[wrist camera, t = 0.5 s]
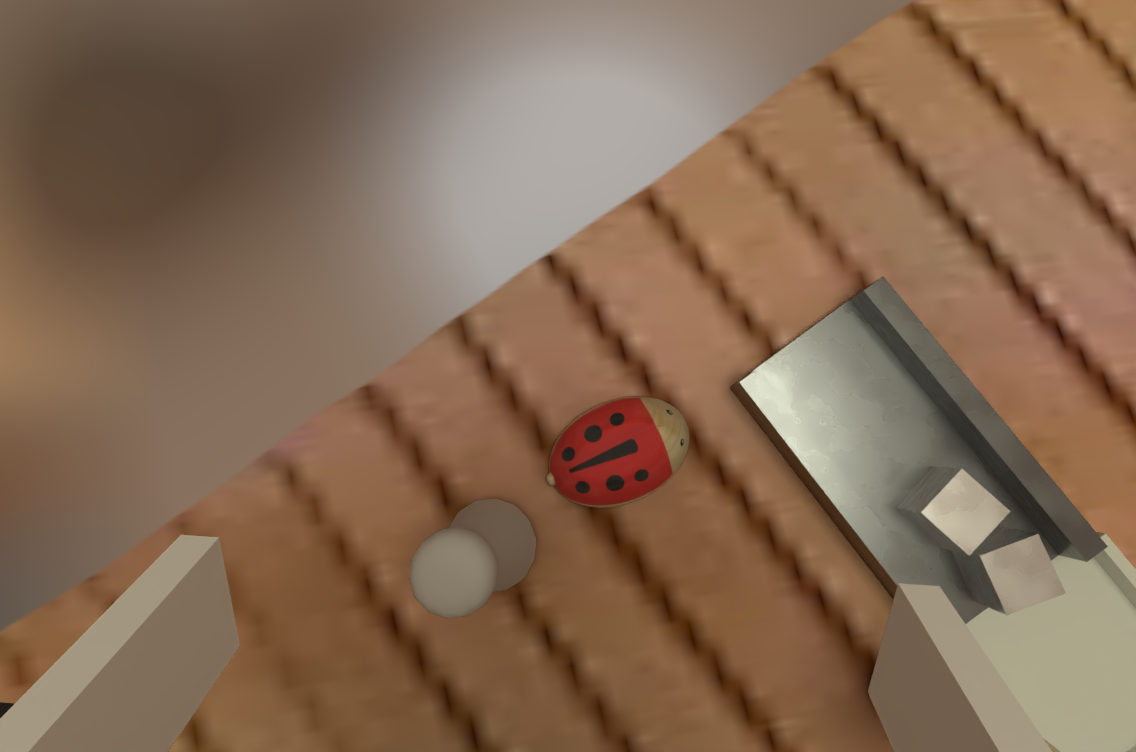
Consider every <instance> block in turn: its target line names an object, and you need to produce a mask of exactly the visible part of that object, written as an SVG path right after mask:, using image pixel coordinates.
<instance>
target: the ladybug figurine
mask: <svg viewBox="0 0 1136 752" xmlns="http://www.w3.org/2000/svg"><path fill="white" fill-rule="evenodd" d="M688 446H689V429H688V426H687V423H686V421H685V419H684V417H683V416H682V415H681V413H680V412H679V411H678V410H677V409H676V408H674V407H673V406H672V405H670V404H668V403H666V402H664V401H662V400H659V399H656V398H650V397H642V396H632V397H624V398H619V399H616V400H612V401H609V402H606V403H603V404H601V405H598V406H596V407H594V408H592V409H590V410H588V411H586V412H585V413H583V414H581V415H580V416H579V417H577V418H576V419H575V420H573V421H572V422H571V423H570V424H569V425H568V426H567V427H566V428H565V429H564V431H563V432H562V433H561V434H560V436H559V437H558V439H557V441H556V443H555V445H554V447H553V449H552V452H551V455H550V460H549V471H550V473H549V474H548V475H547V477H546V479H547V482H548V484H549V485H551V486H555V487H556V488H557V490H558V491H559V492H560V493H561V494H562V495H563V496H564V497H565V498H567V499H569V500H570V501H572V502H575V503H577V504H580V505H584V506H588V507H598V508H605V507H614V506H620V505H624V504H627V503H631V502H634V501H636V500H639V499H641V498H643V497H646V496H647V495H649V494H651V493H652V492H654V491H656V490H657V489H658V488H660V487H661V486H663V485H664V484H665V483H666V482H667V481H668V480H669V479H670V478H671V477H672V476H673V475H674V474H675V472H676V471H677V470H678V468H679V467H680V466H681V464H682V462H683V460H684V458H685V456H686V453H687V450H688Z"/></svg>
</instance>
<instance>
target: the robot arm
mask: <svg viewBox="0 0 1136 752" xmlns="http://www.w3.org/2000/svg"><path fill="white" fill-rule="evenodd" d="M239 646H240V644H239V639H238V634H237V628H236V623H235V618H234V613H233V608H232V602H231V597H230V592H229V587H228V582H227V576H226V571H225V566H224V561H223V556H222V551H221V545H220V540H219V537H204V536H189V535H180V536H179V537H178V538H177V539H176V540H175V541H174V542H173V543H172V545H171V546H170V547H169V548H168V549H167V550H166V551H165V552H164V553H163V554H162V555H161V556H160V557H159V558H158V559H157V560H156V561H155V562H154V563H153V564H152V565H151V566H150V567H149V568H148V569H147V570H146V571H145V572H144V573H143V574H142V575H141V576H140V577H139V578H138V579H137V580H136V581H135V582H134V583H133V584H132V585H131V586H130V587H129V588H128V589H127V590H126V591H125V592H124V593H123V594H122V595H121V596H120V597H119V598H118V599H117V600H116V601H115V602H114V603H113V604H112V606H111V607H110V608H109V609H108V610H107V611H106V612H105V613H104V614H103V615H102V616H101V617H100V618H99V619H98V620H97V621H96V622H95V623H94V624H93V625H92V626H91V627H90V628H89V629H88V630H87V631H86V632H85V633H84V634H83V635H82V636H81V637H80V638H79V639H78V640H77V641H76V642H75V643H74V644H73V645H72V646H71V647H70V648H69V649H68V650H67V651H66V652H65V653H64V654H63V655H62V656H61V657H60V658H59V659H58V660H57V661H56V662H55V663H54V664H53V666H52V667H51V668H50V669H49V670H48V671H47V672H46V673H45V674H44V675H43V676H42V677H41V678H40V679H39V680H38V681H37V682H36V683H35V684H34V685H33V686H32V687H31V688H30V689H29V690H28V691H27V692H26V693H25V694H24V695H23V696H22V697H21V698H20V699H19V700H18V701H17V702H16V703H15V704H13V703H0V752H168V751H169V750H170V748H171V747H172V745H173V744H174V742H175V741H176V739H177V738H178V736H179V735H180V733H181V732H182V730H183V729H184V727H185V726H186V725H187V723H188V722H189V720H190V719H191V717H192V716H193V714H194V713H195V711H196V710H197V708H198V707H199V705H200V704H201V702H202V701H203V699H204V698H205V696H206V695H207V693H208V692H209V690H210V689H211V688H212V686H213V685H214V683H215V682H216V680H217V679H218V677H219V676H220V674H221V673H222V671H223V670H224V668H225V667H226V665H227V664H228V662H229V661H230V659H231V658H232V656H233V655H234V654H235V652H236V651H237V649H238V648H239ZM868 694H869V696H870V698H871V700H872V703H873V705H874V707H875V710H876V712H877V714H878V716H879V719H880V721H881V723H882V726H883V728H884V730H885V732H886V735H887V737H888V739H889V741H890V744H891V746H892V748H893V751H894V752H1052V750H1051V749H1050V748H1049V746H1048V745H1047V743H1046V742H1045V740H1044V739H1043V737H1042V736H1041V734H1040V733H1039V731H1038V730H1037V728H1036V727H1035V726H1034V724H1033V723H1032V721H1031V720H1030V718H1029V717H1028V715H1027V714H1026V712H1025V711H1024V709H1023V708H1022V706H1021V705H1020V704H1019V702H1018V701H1017V699H1016V698H1015V696H1014V695H1013V693H1012V692H1011V690H1010V689H1009V687H1008V686H1007V684H1006V683H1005V682H1004V680H1003V679H1002V677H1001V676H1000V674H999V673H998V671H997V670H996V668H995V667H994V665H993V664H992V662H991V661H990V660H989V658H988V657H987V655H986V654H985V652H984V651H983V649H982V648H981V646H980V645H979V643H978V642H977V640H976V639H975V637H974V636H973V635H972V633H971V632H970V630H969V629H968V627H967V626H966V624H965V623H964V621H963V620H962V618H961V617H960V615H959V614H958V613H957V611H956V610H955V608H954V607H953V605H952V604H951V602H950V601H949V599H948V598H947V596H946V595H945V593H944V592H943V591H942V589H941V588H940V586H931V585H916V584H901V583H898V586H897V589H896V593H895V596H894V600H893V604H892V607H891V611H890V614H889V618H888V621H887V625H886V628H885V632H884V635H883V639H882V643H881V646H880V650H879V653H878V657H877V660H876V664H875V667H874V671H873V674H872V678H871V682H870V685H869V689H868Z"/></svg>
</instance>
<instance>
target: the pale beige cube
mask: <svg viewBox="0 0 1136 752" xmlns="http://www.w3.org/2000/svg"><path fill="white" fill-rule="evenodd" d="M896 508H897V509H898V510H900V511H901V512H902V513H903V514H904V515H905V516H906V517H907V518H908V519H909V520H911V521H912V522H913V523H914V524H915V525H916V526H917V527H918V528H919V529H920V530H922V531H923V532H924V533H925V534H926V535H927V536H928V537H929V538H930V539H931V540H933V541H934V542H935V543H936V544H937V545H938V546H939V547H941V548H945V549H948V550H951V551H954V552H958V553H961V554H964V555H967V556H970V555H971V554H972V553H973V551H974V550H975V549H976V548H977V547H978V546H979V545H980V544H981V543H982V542H983V541H984V540H985V538H986V537H987V536H988V535H989V534H990V533H991V532H992V531H993V530H994V529H995V528H996V527H997V525H998V524H999V523H1000V522H1001V521H1002V520H1003V519H1004V518H1005V517H1006V516H1007V515H1008V514H1009V513H1010V510H1008V509H1007V508H1006V507H1005V506H1004V505H1003V504H1002V503H1000V502H999V501H998V500H997V499H996V498H995V497H994V496H993V495H991V494H990V493H989V492H988V491H987V490H986V489H985V488H984V487H982V486H981V485H980V484H979V483H978V482H977V481H976V480H974V479H973V478H972V477H971V476H970V475H969V474H968V473H967V472H965V471H964V470H963V469H962V468H946V467H933V468H932V469H931V470H930V471H929V472H928V473H927V474H926V475H925V477H924V478H923V479H922V480H921V481H920V482H919V483H918V484H917V485H916V486H915V487H914V488H913V489H912V490H911V492H910V493H909V494H908V495H907V496H906V497H905V498H904V499H903V500H902V501H901V502H900V503H899V504H898V505H897V507H896Z"/></svg>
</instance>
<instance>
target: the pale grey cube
mask: <svg viewBox="0 0 1136 752" xmlns="http://www.w3.org/2000/svg"><path fill="white" fill-rule="evenodd" d="M952 553H953V556H954V558H955V560H956V562H957V564H958V567H959V569H960V571H961V573H962V576H963V578H964V580H965V582H966V584H967V587H968V589H969V591H970V593H971V596H972V598H973V600H974V602H977V603H979V604H981V605H984V606H986V607H988V608H991V609H993V610H995V611H998V612H1000V613H1002V614H1005V615H1010V614H1012V613H1015V612H1018V611H1020V610H1023V609H1026V608H1028V607H1031V606H1034V605H1036V604H1039V603H1042V602H1044V601H1047V600H1050V599H1052V598H1055V597H1058V596H1060V595H1063V594H1066V592H1065V590H1064V588H1063V586H1062V583H1061V581H1060V579H1059V577H1058V575H1057V573H1056V571H1055V568H1054V566H1053V564H1052V562H1051V560H1050V558H1049V556H1048V554H1047V551H1046V549H1045V547H1044V545H1043V543H1042V541H1041V539H1040V536H1039V534H1037V533H1032V532H1027V531H1022V530H1017V529H1012V528H1007V527H1001V528H998V529H995V530H993V531H992V532H991V533H990V534H989V535H988V536H987V537H986V538H985V540H984V541H983V542H982V543H981V544H980V545H979V546H978V547H977V548H976V549H975V550H974V551H973V553H972V554H971V555H970V556H967V555H964V554H961V553H958V552H954V551H952Z"/></svg>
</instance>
